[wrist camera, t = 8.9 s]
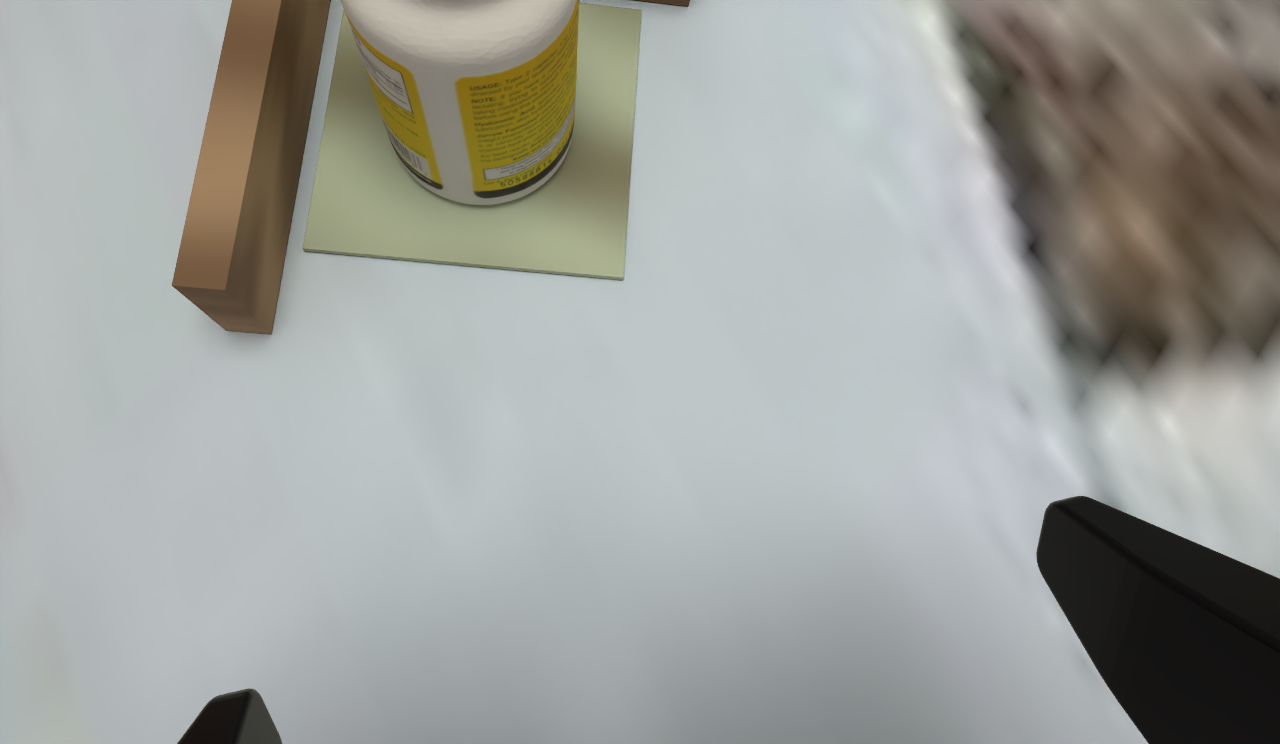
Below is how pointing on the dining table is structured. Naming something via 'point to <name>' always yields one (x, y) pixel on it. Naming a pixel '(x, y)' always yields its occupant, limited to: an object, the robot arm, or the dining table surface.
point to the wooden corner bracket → (385, 169)
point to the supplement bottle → (473, 89)
